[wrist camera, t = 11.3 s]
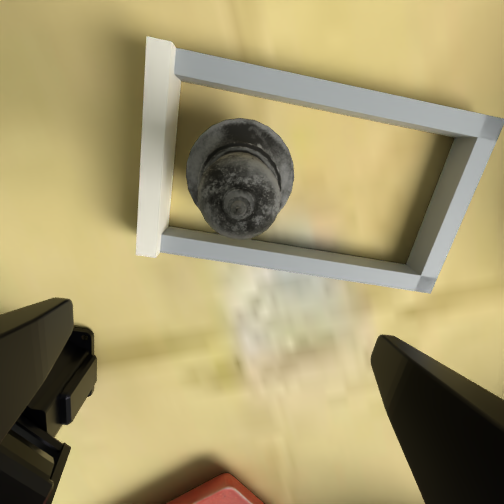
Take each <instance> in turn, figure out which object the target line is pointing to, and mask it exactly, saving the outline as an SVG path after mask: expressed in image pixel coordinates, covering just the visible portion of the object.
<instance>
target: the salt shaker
mask: <svg viewBox="0 0 504 504" xmlns="http://www.w3.org/2000/svg"><path fill="white" fill-rule="evenodd" d="M186 179H187V184H188V189H189V192H190V194H191V196H192V199H193V201H194V203H195V204H196V206H197V207H198V208H199V209H200V211H201V213H202V215H203V217H204V219H205V221H206V222H207V223H208V224H209V225H210V227H211V228H212V229H214V230H215V231H216V232H218V233H219V234H220V235H223V236H225V237H228V238H231V239H238V240H243V239H250V238H253V237H256V236H258V235H260V234H262V233H263V232H264V231H266V230H267V229H268V228H269V227H270V226H271V224H272V223H273V222H274V220H275V218H276V216H277V214H278V213H279V211H280V210H281V209H282V208H283V207H284V205H285V204H286V202H287V200H288V198H289V196H290V194H291V191H292V186H293V181H294V169H293V161H292V158H291V155H290V152H289V149H288V148H287V146H286V145H285V143H284V142H283V140H282V139H281V137H280V136H279V135H278V134H276V133H275V132H274V131H273V130H272V129H271V128H270V127H268V126H266V125H264V124H262V123H260V122H258V121H255V120H250V119H243V118H237V119H229V120H224V121H222V122H220V123H217V124H215V125H213V126H211V127H210V128H209V129H207V130H206V131H205V132H204V133H203V134H202V135H200V137H199V138H198V140H197V141H196V143H195V144H194V145H193V147H192V149H191V152H190V155H189V158H188V161H187V170H186Z"/></svg>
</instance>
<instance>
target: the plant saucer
mask: <svg viewBox="0 0 504 504" xmlns="http://www.w3.org/2000/svg"><path fill="white" fill-rule="evenodd" d="M166 504H264V503H263V502H262V501H261V500H260V499H258V498H257V497H256V496H255V495H254V494H253V493H252V492H251V491H249V490H248V489H247V488H246V487H245V486H244V485H243V484H242V483H240V482H239V481H238V480H237V479H236V478H235V477H234V476H233V475H231V474H229V473H223V474H221V475H219V476H217V477H215V478H213V479H211V480H209V481H207V482H205V483H203V484H202V485H200V486H198V487H196V488H194V489H192V490H190V491H188V492H186V493H185V494H183V495H181V496H179V497H177V498H175V499H173V500H171V501H169V502H167V503H166Z"/></svg>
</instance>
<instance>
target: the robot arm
mask: <svg viewBox="0 0 504 504" xmlns="http://www.w3.org/2000/svg"><path fill="white" fill-rule="evenodd" d="M73 326H74V321H73V304H72V301H71V300H70V299H65V298H51V299H48V300H45V301H42V302H39V303H36V304H32V305H29V306H26V307H23V308H20V309H17V310H14V311H10V312H7V313H4V314H1V315H0V504H51V503H52V501H53V498H54V495H55V492H56V489H57V486H58V484H59V481H60V478H61V475H62V472H63V469H64V467H65V464H66V461H67V458H68V455H69V452H70V449H71V447H70V446H69V445H67V444H66V443H61V442H60V441H58V440H57V439H56V438H54V437H55V436H56V434H57V433H58V431H59V429H60V428H61V426H62V425H68V424H70V423H71V422H72V421H73V419H74V418H75V416H76V414H77V413H78V411H79V409H80V408H81V406H82V405H83V403H84V401H85V400H86V398H87V397H89V396H91V395H92V393H93V391H94V385H95V383H96V381H97V358H96V356H95V355H94V333H93V332H92V331H91V330H89V329H82V328H74V327H73ZM84 335H87V336H88V337H86V336H84ZM371 366H372V369H373V372H374V375H375V378H376V382H377V385H378V388H379V391H380V394H381V397H382V400H383V404H384V407H385V409H386V412H387V415H388V417H389V420H390V422H391V424H392V427H393V429H394V432H395V434H396V436H397V439H398V441H399V443H400V446H401V448H402V450H403V453H404V455H405V457H406V460H407V462H408V464H409V467H410V469H411V471H412V474H413V476H414V478H415V481H416V483H417V485H418V488H419V490H420V492H421V495H422V497H423V499H424V502H425V504H504V400H503V399H501V398H499V397H498V396H496V395H494V394H493V393H491V392H489V391H487V390H486V389H484V388H482V387H481V386H479V385H477V384H476V383H474V382H472V381H470V380H469V379H467V378H465V377H464V376H462V375H460V374H458V373H457V372H455V371H453V370H452V369H450V368H448V367H446V366H445V365H443V364H441V363H440V362H438V361H436V360H434V359H433V358H431V357H429V356H428V355H426V354H424V353H422V352H421V351H419V350H417V349H416V348H414V347H412V346H410V345H409V344H407V343H405V342H404V341H402V340H400V339H399V338H397V337H395V336H392V335H380V336H379V337H378V338H377V341H376V344H375V346H374V349H373V352H372V355H371Z"/></svg>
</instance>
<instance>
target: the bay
mask: <svg viewBox="0 0 504 504" xmlns="http://www.w3.org/2000/svg"><path fill="white" fill-rule="evenodd" d="M181 81H183V82H188V83H193V84H197V85H202V86H207V87H212V88H217V89H222V90H226V91H231V92H236V93H241V94H246V95H251V96H255V97H260V98H265V99H270V100H275V101H280V102H285V103H289V104H294V105H299V106H304V107H309V108H314V109H318V110H323V111H328V112H333V113H338V114H343V115H347V116H352V117H357V118H362V119H367V120H372V121H376V122H381V123H386V124H391V125H396V126H401V127H405V128H410V129H415V130H420V131H425V132H430V133H435V134H439V135H444V136H449V137H454V138H455V139H454V141H453V144H452V146H451V149H450V152H449V154H448V157H447V159H446V162H445V164H444V167H443V170H442V172H441V175H440V177H439V180H438V183H437V185H436V188H435V190H434V193H433V195H432V198H431V201H430V203H429V206H428V208H427V211H426V214H425V216H424V219H423V221H422V224H421V227H420V229H419V232H418V234H417V237H416V239H415V242H414V245H413V247H412V250H411V252H410V255H409V258H408V260H407V263H406V264H400V263H394V262H388V261H382V260H376V259H369V258H363V257H357V256H351V255H345V254H338V253H332V252H326V251H320V250H313V249H307V248H301V247H295V246H289V245H282V244H276V243H270V242H264V241H258V240H251V239H243V240H238V239H231V238H228V237H225V236H223V235H220V234H214V233H208V232H202V231H196V230H189V229H183V228H177V227H171V226H169V216H170V205H171V193H172V181H173V170H174V158H175V147H176V135H177V124H178V112H179V100H180V89H181ZM503 125H504V119H503V118H498V117H493V116H489V115H484V114H480V113H475V112H470V111H466V110H461V109H457V108H452V107H447V106H443V105H438V104H433V103H429V102H424V101H420V100H415V99H410V98H406V97H401V96H397V95H392V94H387V93H383V92H378V91H373V90H369V89H364V88H360V87H355V86H350V85H346V84H341V83H337V82H332V81H327V80H323V79H318V78H313V77H309V76H304V75H300V74H295V73H290V72H286V71H281V70H277V69H272V68H267V67H263V66H258V65H253V64H249V63H244V62H240V61H235V60H230V59H226V58H221V57H217V56H212V55H207V54H203V53H198V52H193V51H189V50H184V49H180V48H176V47H175V46H174V44H173V43H172V42H171V41H167V40H162V39H157V38H153V37H148V36H147V37H146V58H145V78H144V99H143V119H142V140H141V160H140V180H139V201H138V221H137V242H136V255H140V256H146V257H153V258H156V257H157V256H158V254H159V253H160V252H162V253H168V254H175V255H182V256H188V257H195V258H201V259H208V260H214V261H221V262H227V263H234V264H241V265H247V266H254V267H260V268H267V269H273V270H280V271H286V272H293V273H299V274H306V275H313V276H319V277H326V278H332V279H339V280H345V281H352V282H358V283H365V284H372V285H378V286H385V287H391V288H398V289H404V290H411V291H417V292H424V293H431V291H432V289H433V287H434V284H435V282H436V280H437V277H438V275H439V273H440V271H441V268H442V266H443V264H444V261H445V259H446V257H447V254H448V252H449V250H450V247H451V245H452V243H453V241H454V238H455V236H456V234H457V231H458V229H459V227H460V224H461V222H462V220H463V217H464V215H465V213H466V211H467V208H468V206H469V204H470V201H471V199H472V197H473V194H474V192H475V190H476V187H477V185H478V183H479V181H480V178H481V176H482V174H483V171H484V169H485V167H486V164H487V162H488V160H489V157H490V155H491V153H492V151H493V148H494V146H495V144H496V141H497V139H498V137H499V134H500V132H501V130H502V127H503Z"/></svg>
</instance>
